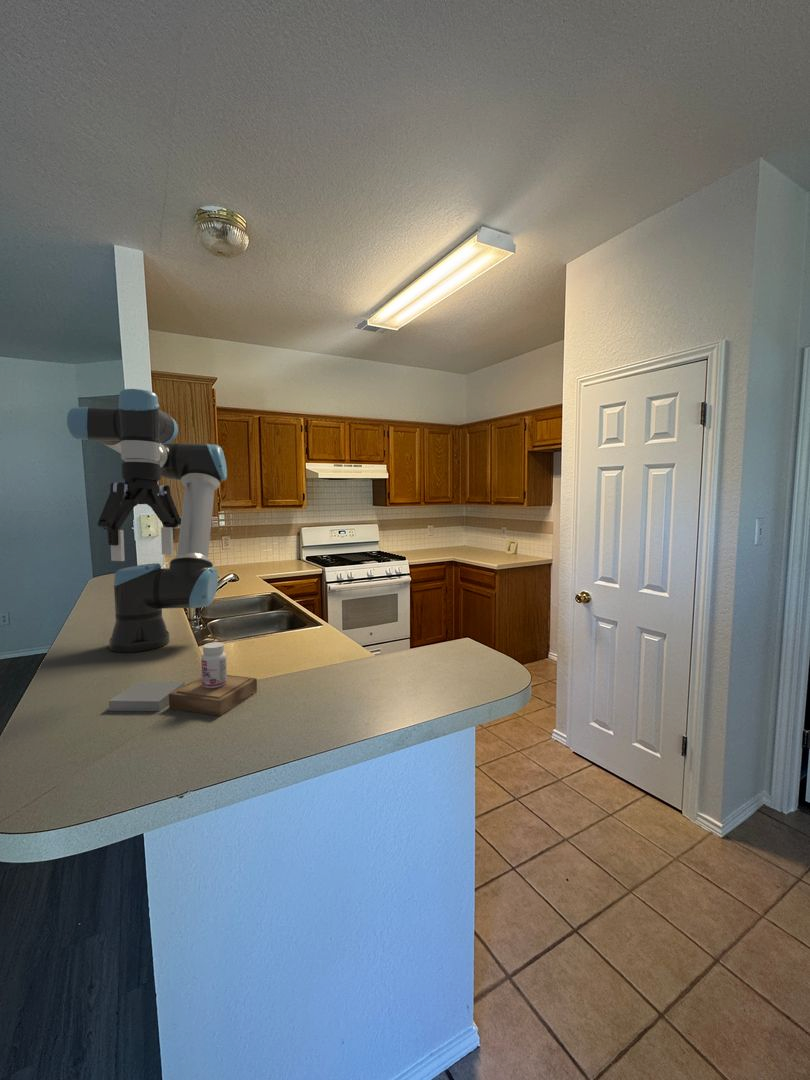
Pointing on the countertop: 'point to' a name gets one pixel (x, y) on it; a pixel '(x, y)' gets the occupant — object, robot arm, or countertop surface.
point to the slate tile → (144, 696)
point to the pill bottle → (213, 665)
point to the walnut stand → (212, 695)
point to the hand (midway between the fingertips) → (144, 557)
